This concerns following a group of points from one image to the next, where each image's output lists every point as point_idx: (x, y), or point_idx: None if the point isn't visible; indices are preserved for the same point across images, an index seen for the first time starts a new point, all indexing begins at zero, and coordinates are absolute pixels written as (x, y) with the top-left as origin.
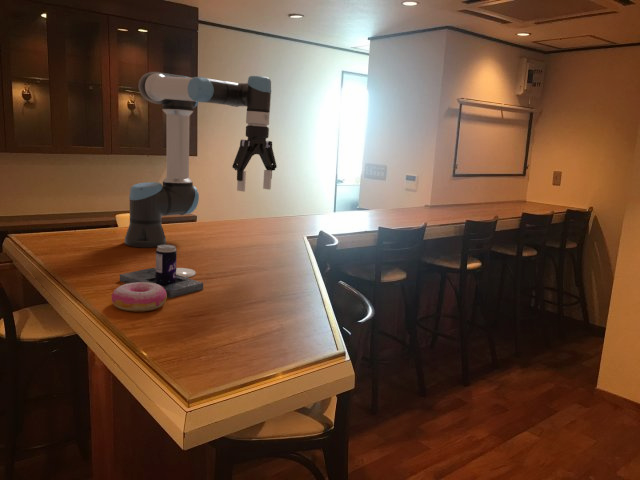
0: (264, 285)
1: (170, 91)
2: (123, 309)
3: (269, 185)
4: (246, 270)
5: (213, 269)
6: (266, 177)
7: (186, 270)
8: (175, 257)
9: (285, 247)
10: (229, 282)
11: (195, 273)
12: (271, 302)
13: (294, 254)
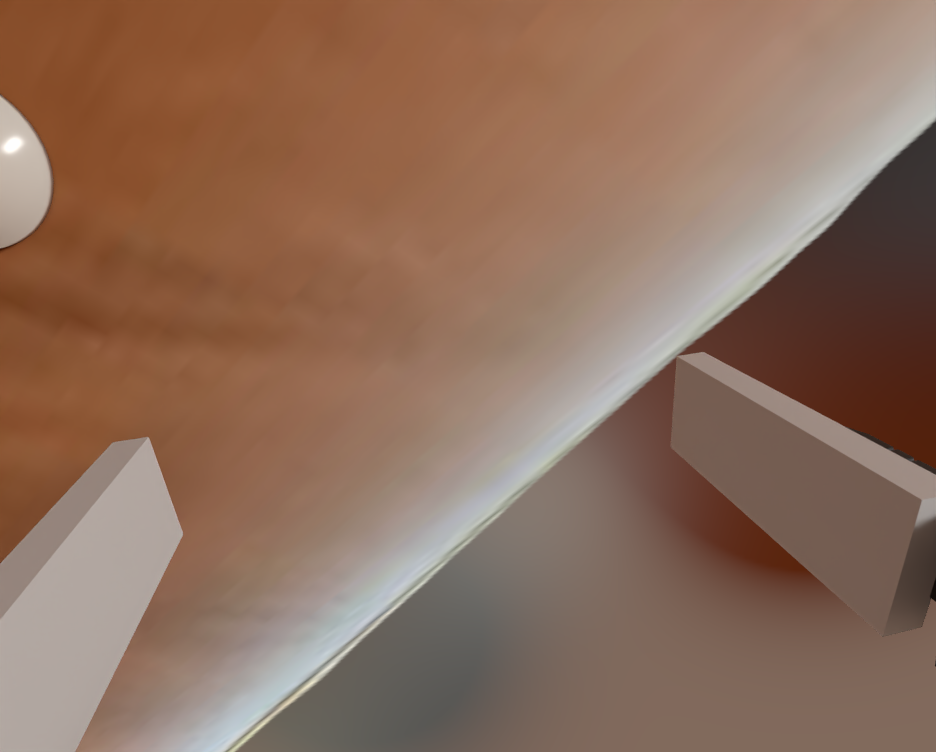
0: (240, 507)
1: None
2: None
3: (701, 472)
4: (323, 310)
5: (185, 202)
6: (783, 478)
7: (4, 161)
8: None
9: (841, 72)
10: (130, 412)
11: (39, 223)
12: (134, 642)
13: (734, 220)
